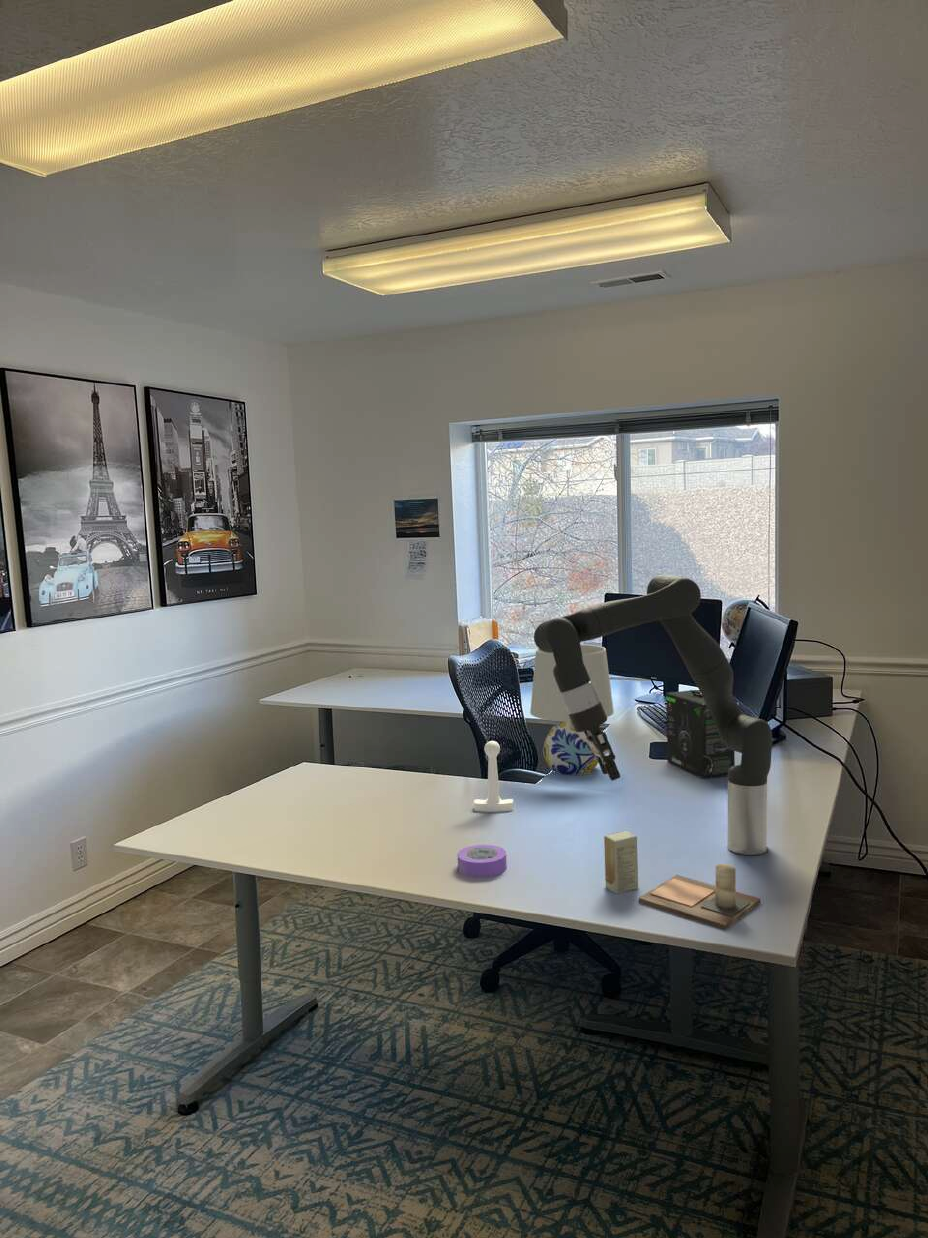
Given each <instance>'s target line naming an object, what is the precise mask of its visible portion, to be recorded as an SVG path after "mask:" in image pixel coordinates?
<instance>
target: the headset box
mask: <svg viewBox="0 0 928 1238" xmlns="http://www.w3.org/2000/svg"><path fill="white" fill-rule="evenodd" d="M665 694H666V738H667V739H666V740H667V741H666V742H667V743H666V747H667V748H666V749H667V750H666V751H667V753H666V754H667V763H669V764H670V765H673V766H675V767H677V768H678V769H681V770H683V771H685V772H688V773H690V774H692V775H695V776H697V777H698V778H702V779H710V778H719V777H725V776H727V777H728V770H729V768H730V767H732V766H736V762H735V760H736V759H735V758H736V757H735V756H736V755H735V752H736V751H733V750H731V749H729V748H728V747H727V746H726V745H725V744H724V743H723V741H722V739H721V737H720V735H719V732H718V730H717V727H716V724H715V722H714V719H713V717H712V714H711V712H710V710H709V708H708V706H707V704H706V702H705V700H704V699H703V696H702V695H701V693H700V691H699V689H689V690H683V691H682V690H681V691H669V692H666V693H665Z"/></svg>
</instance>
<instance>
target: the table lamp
mask: <svg viewBox="0 0 928 1238" xmlns="http://www.w3.org/2000/svg"><path fill="white" fill-rule="evenodd" d="M580 646H581V651H582V657H583V663H584V665H585V668H586V670H587V672H588V675H589V677H590V680H591V682H592V684H593V686H594V687H595V689H596V691H597V694H598V696H599V699H600V701H601V704H602V706H603V709H604V711H605V713H606V716H607V718H609V717H611V716H612V715H613V714H614V713H615V711H614V704H613V697H612V688H611V687H612V686H611V679H610V673H609V665H608V655H607V649H606V648H605V647H604V646H601V645H593V644H581V643H580ZM534 656H535V659H534V668H533V680H532V688H531V689H532V690H531V698H530V699H531V702H530V712H529V714H530V715H531V716H532V717H535V718H538V719H542V720H546V721H554V722H556V723H554V725H553V726H552V727H551V729H550V730H549V732H548V733H547V735H546V737H545V739H544V742H543V748H542V751H543V758H544V759H545V762H546V764H547V766H548V767H549V769H550V770H551V771H552V772H553V771H555V772H554V773H555V774H558V775H562V776H582V775H583V776H584V775H587V774H590V773H592V772H593V771H594V770H595V769H596V767H597V765H599V763H598V760H597V759H598V758H596V757H595V756H594V754H592V751H591V749H590V746H589V744H588V742H587V740H586V735H585V734H584V732H576V731H575V730H574V728H573V725H572V723H571V720H570V718H569V715H568V713H567V710H566V708H565V705H564V703H563V699H562V695H561V692H560V690H559V687H558V685H557V683H556V680H555V677H554V674H553V669H554V667H555V666H556V663H555V659H554V655H553V653H548V652H544V651H542V650H540V649H539V648H538V647H537V648H536V649H535V655H534Z"/></svg>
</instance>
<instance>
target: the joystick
mask: <svg viewBox="0 0 928 1238" xmlns="http://www.w3.org/2000/svg"><path fill="white" fill-rule="evenodd" d="M483 749H484V753H485V754H486V755H487V757H488V758H487V759H488V763H487V764H488V766H487V767H488V768H487V769H488V770H487V797H486V799H478V798H477V799H474V800H473V805H474V806H473V808H474V811H475V812H484V813H485V812H487V813H490V812H492V813H494V812H495V813H496V812H497V813H498V812H499V813H500V812H509V811H514V799H513V798H506V799H502V798H501V796H500V788H499V787H500V786H499V785H500V784H499V775H498V774H499V773H498V763H497V761H498V760H497V756H498V755H499V754H500V751H501V747H500V744H499V743H498V742H497V741H495V740H490V741H488V742H486V743H485V745H484V748H483Z"/></svg>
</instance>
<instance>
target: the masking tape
mask: <svg viewBox="0 0 928 1238" xmlns="http://www.w3.org/2000/svg"><path fill="white" fill-rule="evenodd" d="M507 867H508V865H507V851H506V850H505V849H504V848H502V847H501V846H497V845H492V844H475V845H470V846H466V847H464V848H462V849H460V850H459V851H458V853H457V870H458V872H459V873H461V874H462V875H464V876H466V877H471V878H490V877H491V878H492V877H495V876H499V875H501V874H503V873H505V872H506V870H507V869H508V868H507Z"/></svg>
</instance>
